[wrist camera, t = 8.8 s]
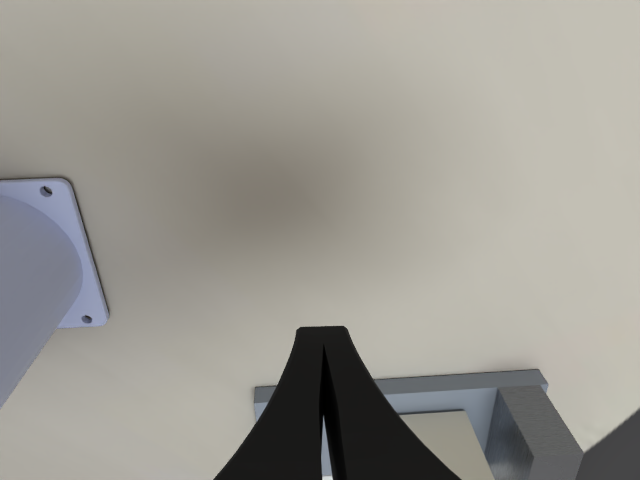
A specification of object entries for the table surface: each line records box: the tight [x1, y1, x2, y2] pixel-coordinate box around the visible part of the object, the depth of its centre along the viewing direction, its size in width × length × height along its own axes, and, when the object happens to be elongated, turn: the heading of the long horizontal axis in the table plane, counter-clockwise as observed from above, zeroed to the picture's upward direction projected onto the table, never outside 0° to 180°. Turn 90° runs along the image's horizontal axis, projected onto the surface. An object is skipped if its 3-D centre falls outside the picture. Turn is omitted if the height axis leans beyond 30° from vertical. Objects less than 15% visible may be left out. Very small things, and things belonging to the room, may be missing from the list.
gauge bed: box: [254, 370, 548, 480], centre depth 29 cm, size 17×8×2 cm, turn 92°
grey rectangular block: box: [484, 385, 584, 480], centre depth 27 cm, size 2×8×5 cm, turn 2°
